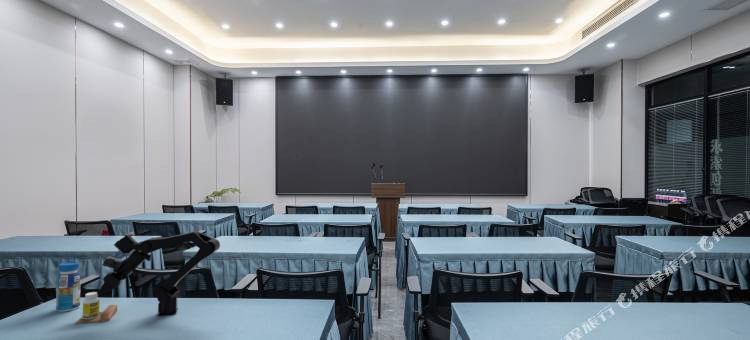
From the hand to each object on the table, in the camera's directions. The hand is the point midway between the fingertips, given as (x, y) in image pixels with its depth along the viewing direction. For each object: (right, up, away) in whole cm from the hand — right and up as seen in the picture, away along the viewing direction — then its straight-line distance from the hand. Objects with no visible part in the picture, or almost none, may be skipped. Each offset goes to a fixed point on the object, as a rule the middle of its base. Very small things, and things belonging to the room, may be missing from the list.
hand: (101, 290), depth 151 cm
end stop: (-2, -11, 0) cm, 11 cm away
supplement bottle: (-4, -11, -1) cm, 11 cm away
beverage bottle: (-21, -11, +8) cm, 25 cm away
